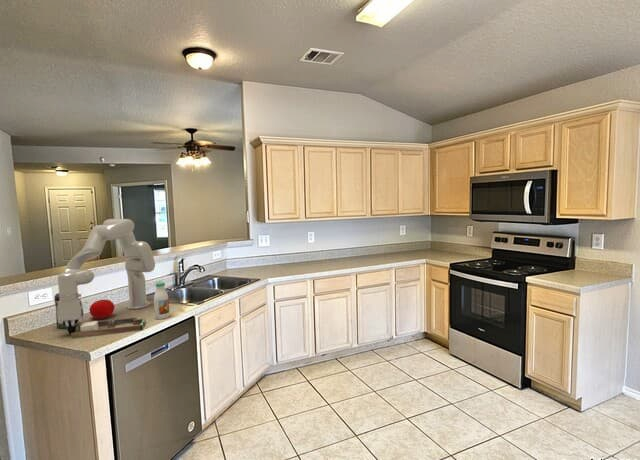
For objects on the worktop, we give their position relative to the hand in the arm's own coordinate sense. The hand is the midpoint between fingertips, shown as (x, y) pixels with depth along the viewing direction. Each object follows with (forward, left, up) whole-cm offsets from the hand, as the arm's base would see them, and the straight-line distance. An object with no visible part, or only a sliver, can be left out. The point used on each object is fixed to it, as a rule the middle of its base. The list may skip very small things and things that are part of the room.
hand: (71, 333), depth 174 cm
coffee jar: (-16, -7, -1) cm, 17 cm away
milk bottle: (-13, +40, -1) cm, 42 cm away
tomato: (-26, +7, -1) cm, 26 cm away
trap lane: (-2, +17, -1) cm, 17 cm away
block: (0, +8, -1) cm, 8 cm away
